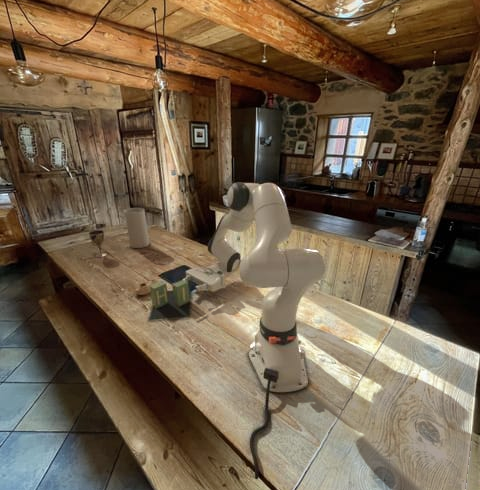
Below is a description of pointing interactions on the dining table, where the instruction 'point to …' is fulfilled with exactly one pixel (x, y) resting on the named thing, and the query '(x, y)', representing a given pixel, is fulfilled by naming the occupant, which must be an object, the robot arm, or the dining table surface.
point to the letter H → (159, 294)
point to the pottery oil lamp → (144, 287)
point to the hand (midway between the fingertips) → (189, 285)
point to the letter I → (181, 292)
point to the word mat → (171, 309)
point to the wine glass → (98, 241)
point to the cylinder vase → (136, 227)
